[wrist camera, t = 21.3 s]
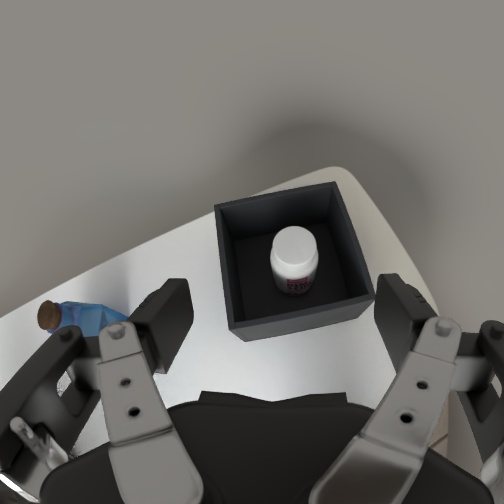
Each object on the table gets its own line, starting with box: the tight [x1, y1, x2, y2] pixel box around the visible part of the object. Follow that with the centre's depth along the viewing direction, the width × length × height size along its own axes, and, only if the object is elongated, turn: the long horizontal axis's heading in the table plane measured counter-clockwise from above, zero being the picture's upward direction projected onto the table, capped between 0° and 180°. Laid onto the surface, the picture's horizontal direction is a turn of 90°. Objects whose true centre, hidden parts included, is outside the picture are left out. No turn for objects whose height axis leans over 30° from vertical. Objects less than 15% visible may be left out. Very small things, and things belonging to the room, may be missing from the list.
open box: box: [214, 181, 376, 342], centre depth 30 cm, size 13×13×8 cm
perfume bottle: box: [37, 300, 129, 337], centre depth 28 cm, size 6×6×12 cm
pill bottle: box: [270, 226, 318, 296], centre depth 29 cm, size 5×5×8 cm
